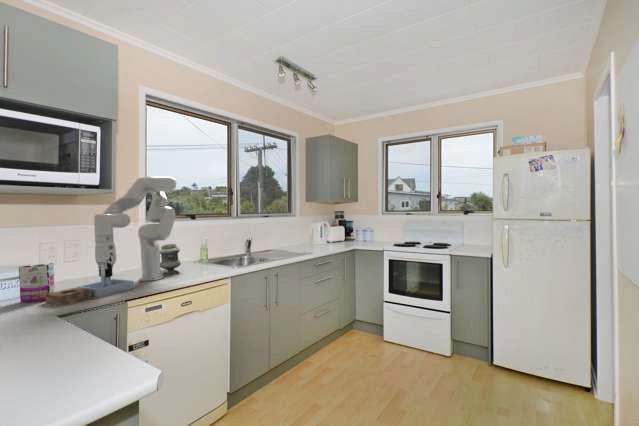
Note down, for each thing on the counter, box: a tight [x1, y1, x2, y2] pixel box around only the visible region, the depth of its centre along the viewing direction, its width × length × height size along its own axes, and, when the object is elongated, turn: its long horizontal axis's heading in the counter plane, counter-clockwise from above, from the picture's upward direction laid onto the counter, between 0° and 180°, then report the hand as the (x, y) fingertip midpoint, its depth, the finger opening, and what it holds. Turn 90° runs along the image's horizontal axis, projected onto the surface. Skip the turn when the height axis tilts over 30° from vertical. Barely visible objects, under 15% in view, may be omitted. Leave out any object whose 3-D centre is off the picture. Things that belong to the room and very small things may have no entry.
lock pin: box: [100, 262, 112, 288], centre depth 157 cm, size 4×4×12 cm
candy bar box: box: [18, 262, 56, 303], centre depth 145 cm, size 11×5×16 cm, turn 105°
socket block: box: [45, 286, 93, 307], centre depth 143 cm, size 12×12×4 cm
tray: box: [76, 278, 135, 299], centre depth 157 cm, size 18×16×4 cm
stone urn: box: [160, 243, 182, 276], centre depth 201 cm, size 12×12×18 cm
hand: (105, 276), depth 157 cm, fingers closed on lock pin, 4 cm apart
